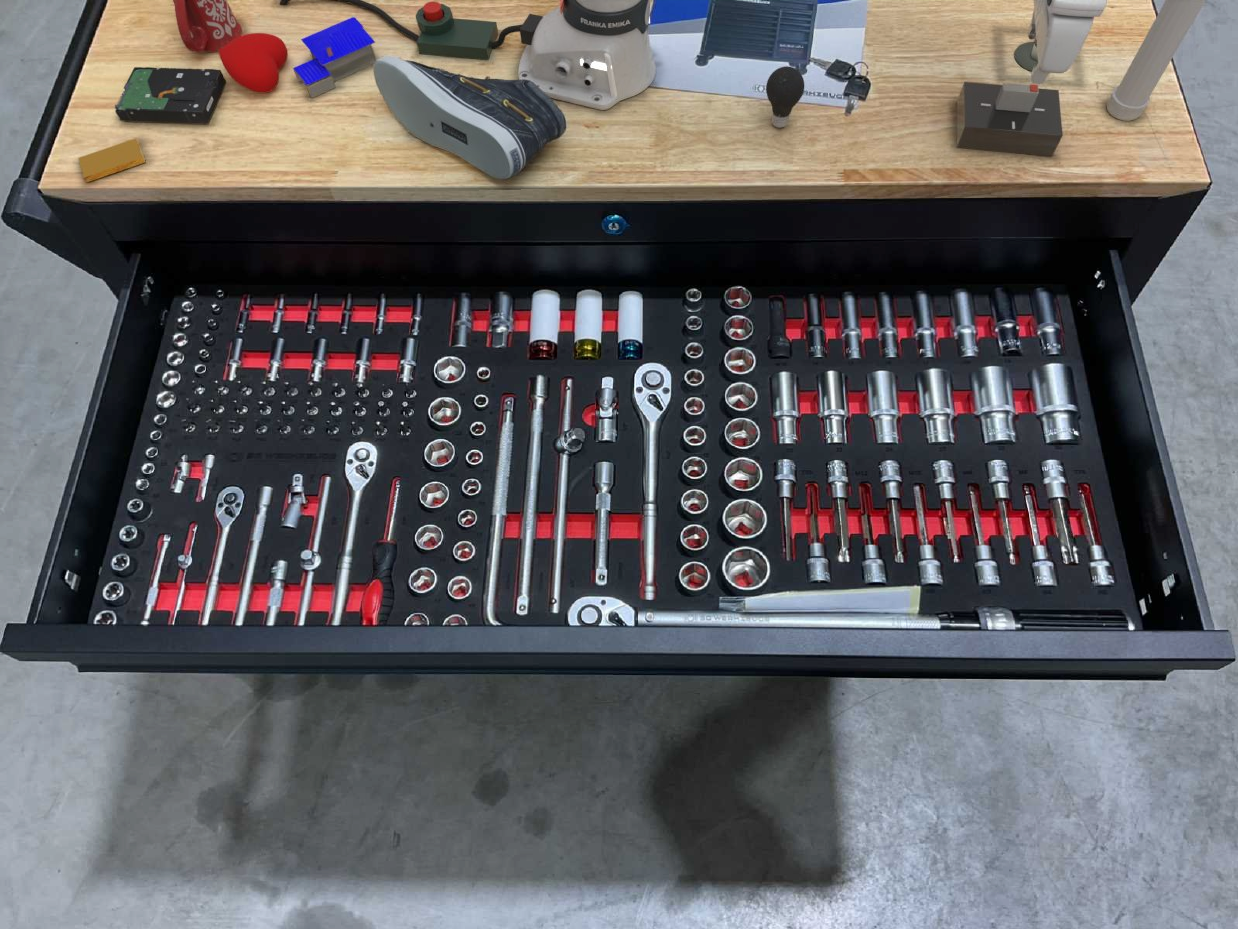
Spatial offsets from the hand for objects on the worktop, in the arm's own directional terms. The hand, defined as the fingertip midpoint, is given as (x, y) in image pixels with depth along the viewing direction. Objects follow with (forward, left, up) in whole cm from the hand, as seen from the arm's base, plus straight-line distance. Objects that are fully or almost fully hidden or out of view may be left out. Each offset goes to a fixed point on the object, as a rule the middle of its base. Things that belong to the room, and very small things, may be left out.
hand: (1035, 57), depth 126 cm
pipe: (+18, +7, -13) cm, 23 cm away
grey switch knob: (0, 0, -8) cm, 8 cm away
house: (-107, +1, -13) cm, 108 cm away
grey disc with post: (+6, +18, -13) cm, 23 cm away
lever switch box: (0, 0, -13) cm, 13 cm away
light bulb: (-34, -4, -13) cm, 37 cm away
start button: (-93, +10, -9) cm, 94 cm away
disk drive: (-132, -12, -13) cm, 133 cm away
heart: (-125, -4, -8) cm, 126 cm away
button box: (-89, +9, -13) cm, 90 cm away
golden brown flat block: (-137, -25, -12) cm, 140 cm away
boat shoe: (-85, -17, -7) cm, 87 cm away
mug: (-131, +3, +1) cm, 131 cm away
